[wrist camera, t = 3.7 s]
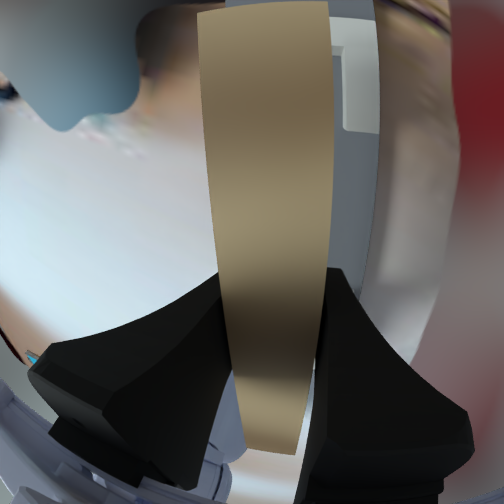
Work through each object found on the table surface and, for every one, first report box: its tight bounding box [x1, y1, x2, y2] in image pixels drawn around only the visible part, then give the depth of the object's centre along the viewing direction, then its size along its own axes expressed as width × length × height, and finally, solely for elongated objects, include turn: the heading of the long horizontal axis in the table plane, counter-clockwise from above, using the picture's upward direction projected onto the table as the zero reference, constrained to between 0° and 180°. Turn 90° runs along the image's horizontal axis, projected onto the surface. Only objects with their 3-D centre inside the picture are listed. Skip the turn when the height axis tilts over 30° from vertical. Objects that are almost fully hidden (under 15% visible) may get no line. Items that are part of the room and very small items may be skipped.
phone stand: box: [25, 350, 40, 364], centre depth 46 cm, size 20×12×2 cm, turn 99°
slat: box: [197, 1, 334, 455], centre depth 10 cm, size 16×2×5 cm, turn 3°
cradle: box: [226, 0, 380, 370], centre depth 16 cm, size 26×8×4 cm, turn 3°
